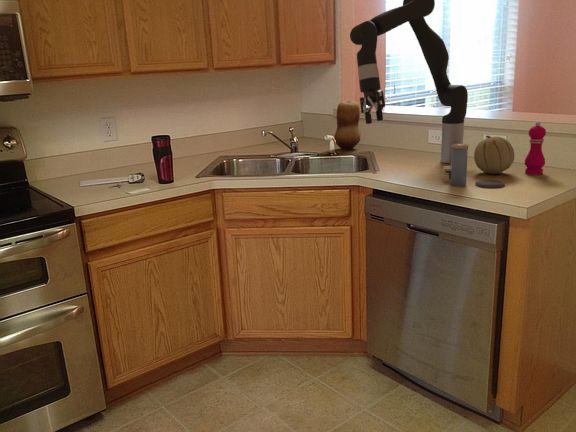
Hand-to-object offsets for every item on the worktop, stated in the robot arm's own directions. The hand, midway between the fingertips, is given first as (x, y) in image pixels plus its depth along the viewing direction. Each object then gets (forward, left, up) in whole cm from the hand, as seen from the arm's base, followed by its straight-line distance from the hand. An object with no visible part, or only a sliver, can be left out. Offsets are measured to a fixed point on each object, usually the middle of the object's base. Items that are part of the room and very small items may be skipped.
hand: (374, 122), depth 199 cm
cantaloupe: (-21, +44, -23) cm, 54 cm away
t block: (-8, +28, -23) cm, 37 cm away
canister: (0, +31, -23) cm, 38 cm away
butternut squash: (-77, -25, -23) cm, 84 cm away
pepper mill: (-22, +59, -23) cm, 67 cm away
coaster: (-1, +42, -23) cm, 48 cm away
